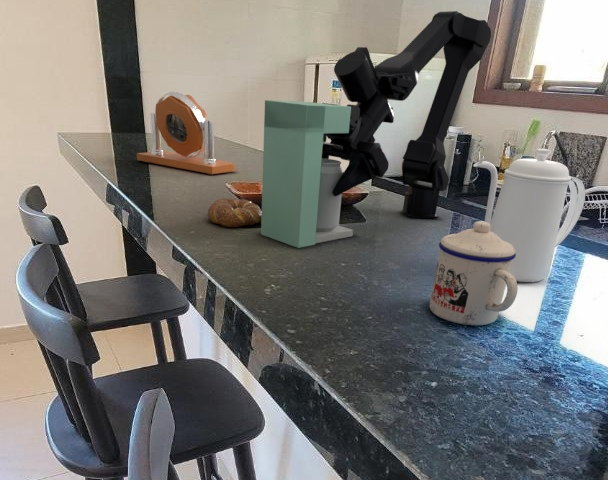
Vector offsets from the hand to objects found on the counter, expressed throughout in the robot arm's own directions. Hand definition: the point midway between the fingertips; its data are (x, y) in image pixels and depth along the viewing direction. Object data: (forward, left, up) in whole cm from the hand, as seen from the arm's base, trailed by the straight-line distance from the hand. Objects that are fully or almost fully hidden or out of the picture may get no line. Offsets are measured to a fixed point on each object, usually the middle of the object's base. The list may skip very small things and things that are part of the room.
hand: (315, 189), depth 94 cm
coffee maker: (+1, 0, -8) cm, 8 cm away
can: (-1, -1, -7) cm, 7 cm away
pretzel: (+14, -9, -8) cm, 18 cm away
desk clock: (+26, -75, -8) cm, 80 cm away
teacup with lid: (-14, +38, -8) cm, 42 cm away
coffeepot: (-29, +20, -8) cm, 36 cm away
